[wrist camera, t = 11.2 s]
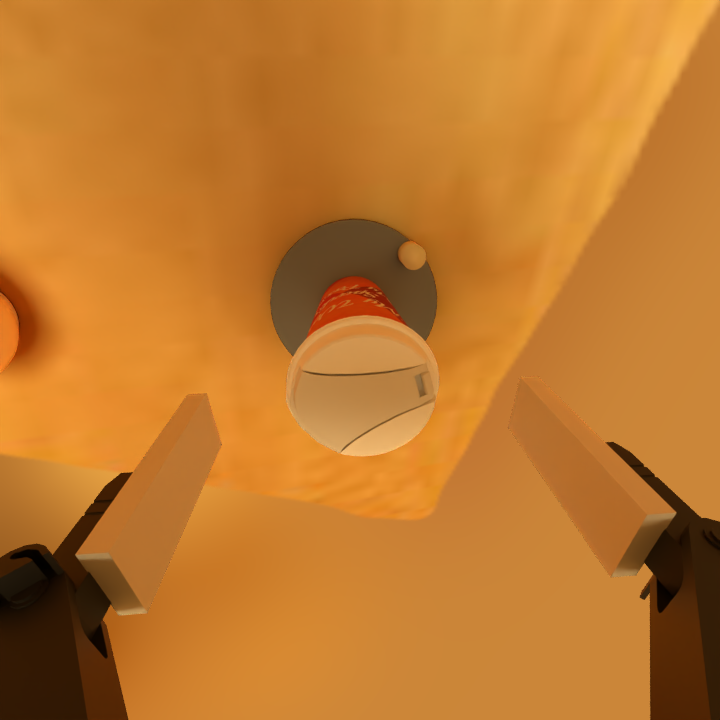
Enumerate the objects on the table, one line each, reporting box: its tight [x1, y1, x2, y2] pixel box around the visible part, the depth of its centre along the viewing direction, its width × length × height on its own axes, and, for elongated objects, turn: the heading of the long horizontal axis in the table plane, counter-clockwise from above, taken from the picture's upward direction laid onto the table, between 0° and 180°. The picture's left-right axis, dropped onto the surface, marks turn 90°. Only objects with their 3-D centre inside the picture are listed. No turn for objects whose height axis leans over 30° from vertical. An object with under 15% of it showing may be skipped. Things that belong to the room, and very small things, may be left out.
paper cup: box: [286, 276, 439, 456], centre depth 22 cm, size 8×8×14 cm
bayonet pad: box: [270, 219, 437, 356], centre depth 28 cm, size 14×14×3 cm
